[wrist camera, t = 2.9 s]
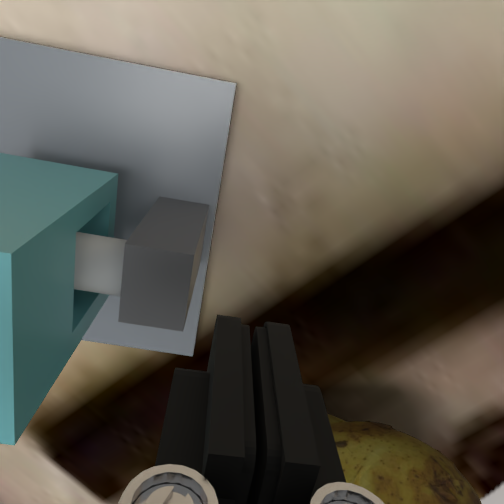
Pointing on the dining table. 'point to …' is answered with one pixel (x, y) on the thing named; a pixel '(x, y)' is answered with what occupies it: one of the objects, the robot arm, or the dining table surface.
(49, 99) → the slider rail stand
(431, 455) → the potato
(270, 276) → the dining table surface
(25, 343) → the teal sliding cube
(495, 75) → the dining table surface
